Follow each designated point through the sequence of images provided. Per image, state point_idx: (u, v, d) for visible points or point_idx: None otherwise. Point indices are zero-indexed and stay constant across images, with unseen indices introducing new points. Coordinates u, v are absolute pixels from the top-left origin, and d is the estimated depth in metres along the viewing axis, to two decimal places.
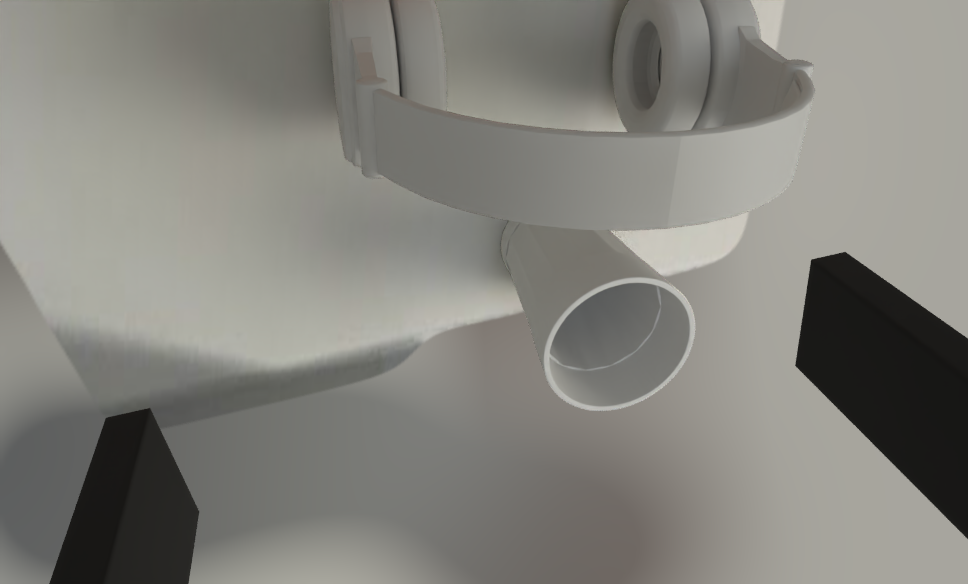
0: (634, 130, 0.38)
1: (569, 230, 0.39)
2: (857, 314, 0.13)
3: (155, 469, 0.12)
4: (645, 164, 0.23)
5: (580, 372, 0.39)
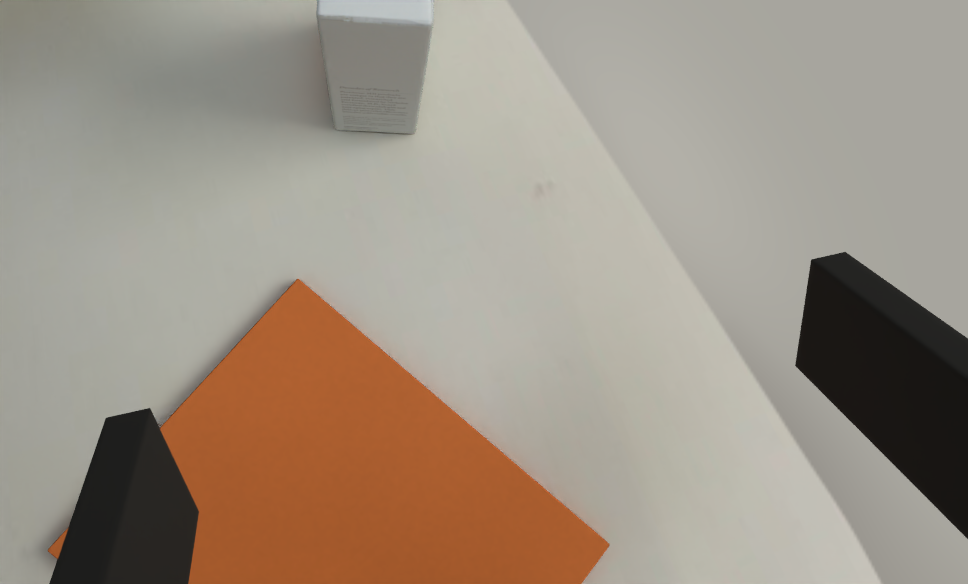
0: None
1: None
2: (857, 314, 0.13)
3: (155, 469, 0.12)
4: None
5: None
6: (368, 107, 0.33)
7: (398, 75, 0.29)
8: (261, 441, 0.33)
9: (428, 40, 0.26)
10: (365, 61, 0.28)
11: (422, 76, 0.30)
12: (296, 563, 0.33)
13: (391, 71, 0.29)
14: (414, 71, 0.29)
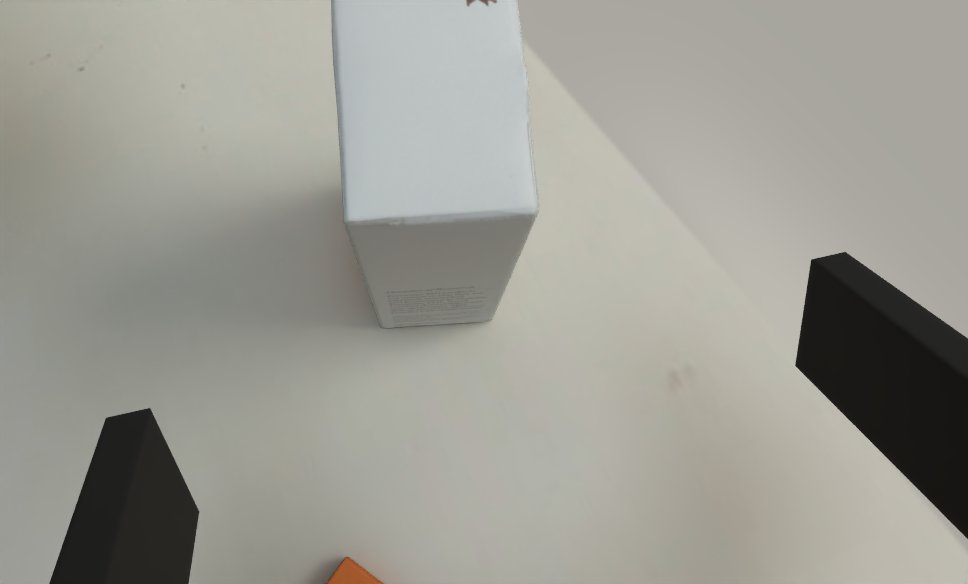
0: None
1: None
2: (856, 314, 0.13)
3: (155, 469, 0.12)
4: None
5: None
6: (429, 305, 0.23)
7: (474, 272, 0.19)
8: None
9: (528, 231, 0.16)
10: (425, 264, 0.18)
11: (511, 269, 0.19)
12: None
13: (465, 269, 0.19)
14: (500, 266, 0.19)
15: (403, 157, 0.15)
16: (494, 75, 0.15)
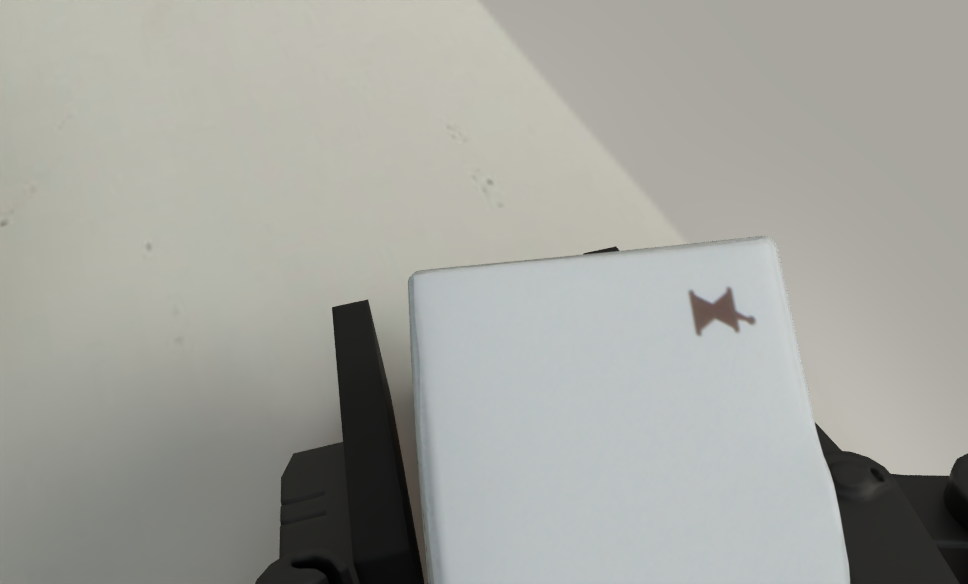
0: None
1: None
2: None
3: (378, 348, 0.15)
4: None
5: None
6: None
7: None
8: None
9: None
10: None
11: None
12: None
13: None
14: None
15: None
16: (770, 500, 0.07)
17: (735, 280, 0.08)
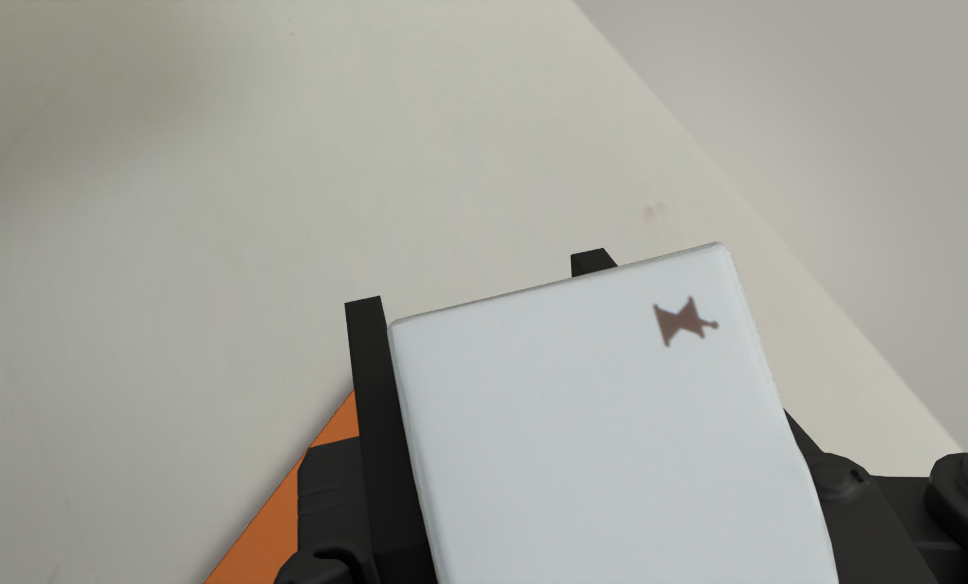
0: None
1: None
2: None
3: None
4: None
5: None
6: None
7: None
8: None
9: None
10: None
11: None
12: None
13: None
14: None
15: None
16: (752, 492, 0.08)
17: (695, 289, 0.08)
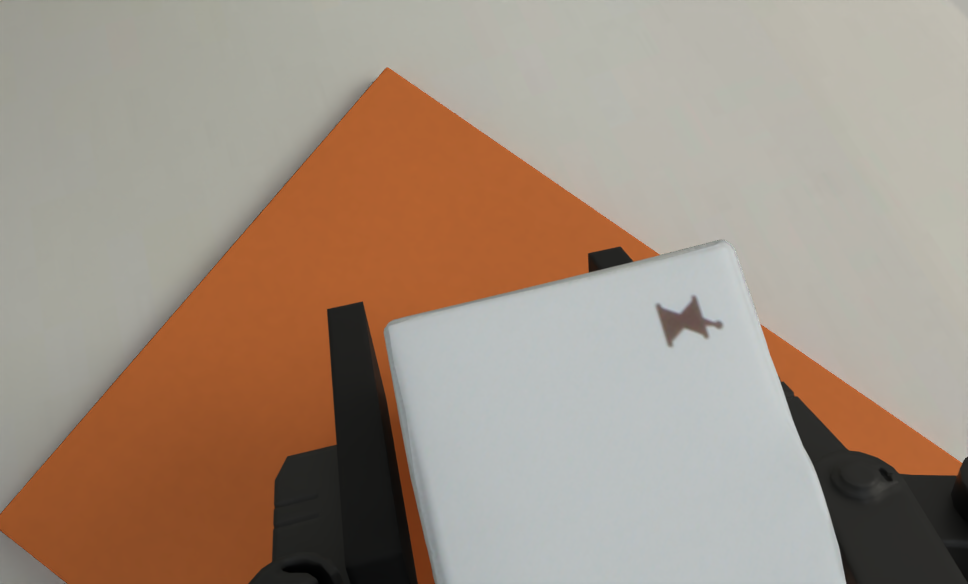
0: None
1: None
2: None
3: (372, 350, 0.15)
4: None
5: None
6: None
7: None
8: None
9: None
10: None
11: None
12: None
13: None
14: None
15: None
16: (757, 496, 0.07)
17: (699, 288, 0.08)
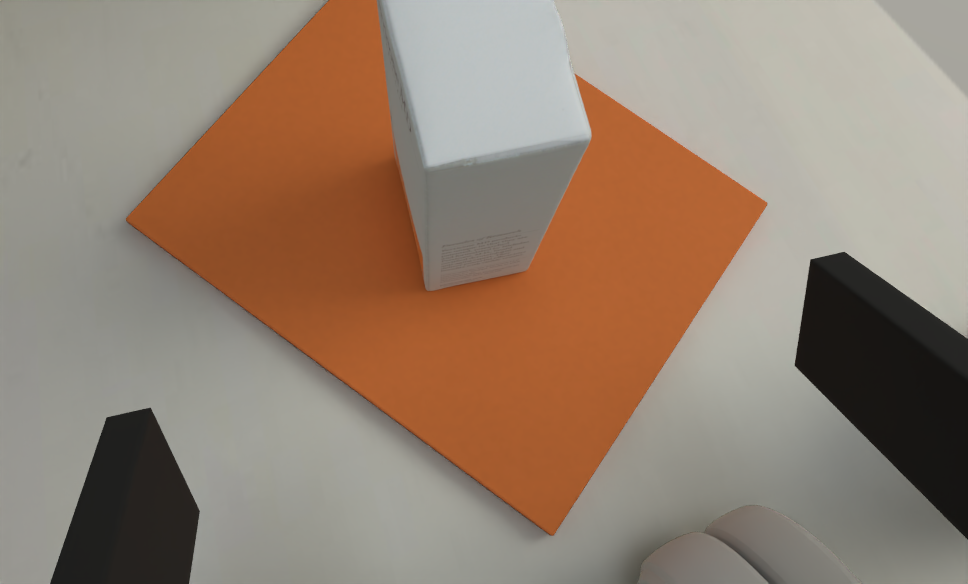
0: None
1: None
2: (856, 314, 0.13)
3: (156, 468, 0.12)
4: None
5: None
6: (476, 257, 0.24)
7: (524, 213, 0.21)
8: (355, 103, 0.29)
9: (579, 160, 0.18)
10: (484, 208, 0.20)
11: (557, 206, 0.21)
12: (405, 228, 0.28)
13: (516, 210, 0.20)
14: (548, 203, 0.20)
15: (466, 105, 0.17)
16: (533, 23, 0.17)
17: None
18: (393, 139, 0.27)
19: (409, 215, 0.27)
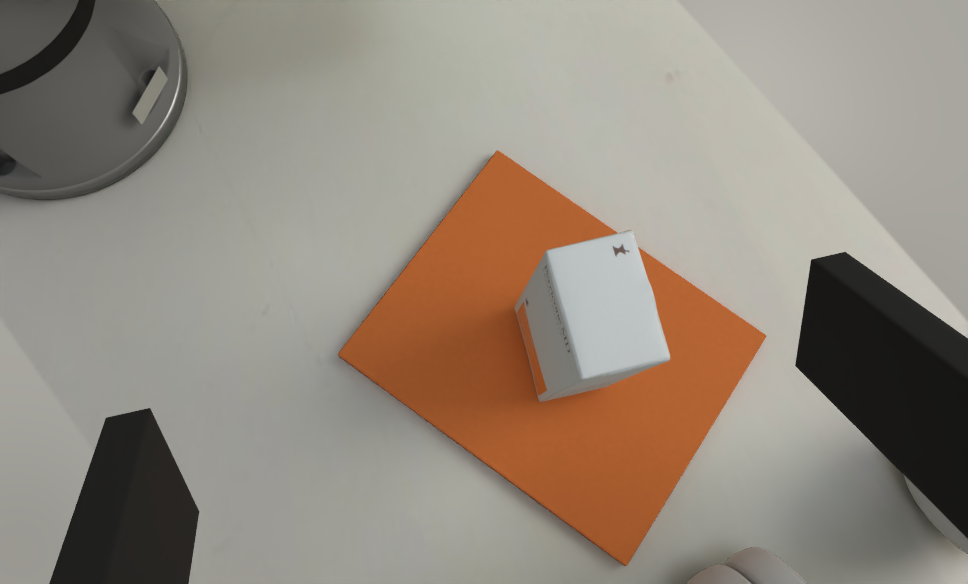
0: None
1: None
2: (856, 314, 0.13)
3: (155, 469, 0.12)
4: None
5: None
6: (580, 390, 0.38)
7: (620, 377, 0.34)
8: (485, 268, 0.43)
9: (660, 363, 0.32)
10: (600, 381, 0.33)
11: (639, 372, 0.35)
12: (522, 357, 0.42)
13: (617, 377, 0.34)
14: (635, 373, 0.34)
15: (602, 342, 0.30)
16: (636, 291, 0.31)
17: (623, 242, 0.31)
18: (520, 304, 0.40)
19: (529, 353, 0.41)
